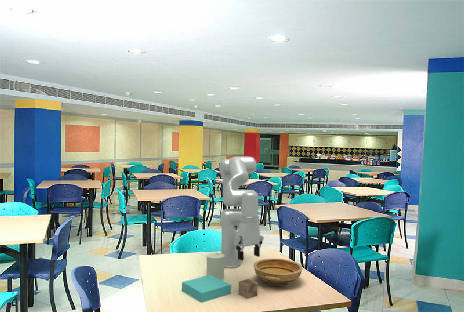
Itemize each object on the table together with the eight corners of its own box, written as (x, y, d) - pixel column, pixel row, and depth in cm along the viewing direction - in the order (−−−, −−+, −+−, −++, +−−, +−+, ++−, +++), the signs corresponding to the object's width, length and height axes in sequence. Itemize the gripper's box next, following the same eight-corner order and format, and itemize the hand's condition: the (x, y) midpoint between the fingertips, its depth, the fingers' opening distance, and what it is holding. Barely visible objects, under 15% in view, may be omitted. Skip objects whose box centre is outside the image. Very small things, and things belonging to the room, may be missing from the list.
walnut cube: (248, 291, 167) (248, 278, 167) (257, 295, 163) (257, 282, 163) (238, 294, 163) (238, 281, 163) (247, 299, 159) (247, 285, 159)
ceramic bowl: (261, 269, 198) (261, 254, 198) (306, 275, 190) (306, 260, 190) (245, 288, 170) (245, 271, 170) (297, 296, 162) (297, 279, 162)
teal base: (210, 282, 177) (210, 274, 177) (230, 293, 165) (231, 284, 164) (181, 290, 167) (182, 281, 167) (201, 302, 154) (201, 293, 154)
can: (226, 276, 187) (227, 253, 186) (220, 282, 178) (220, 258, 178) (210, 273, 190) (210, 251, 189) (203, 279, 181) (203, 255, 181)
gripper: (257, 216, 171) (257, 252, 171) (229, 220, 160) (228, 259, 160) (269, 219, 165) (268, 256, 165) (240, 223, 154) (239, 263, 154)
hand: (248, 257), depth 162 cm, fingers open, 9 cm apart
